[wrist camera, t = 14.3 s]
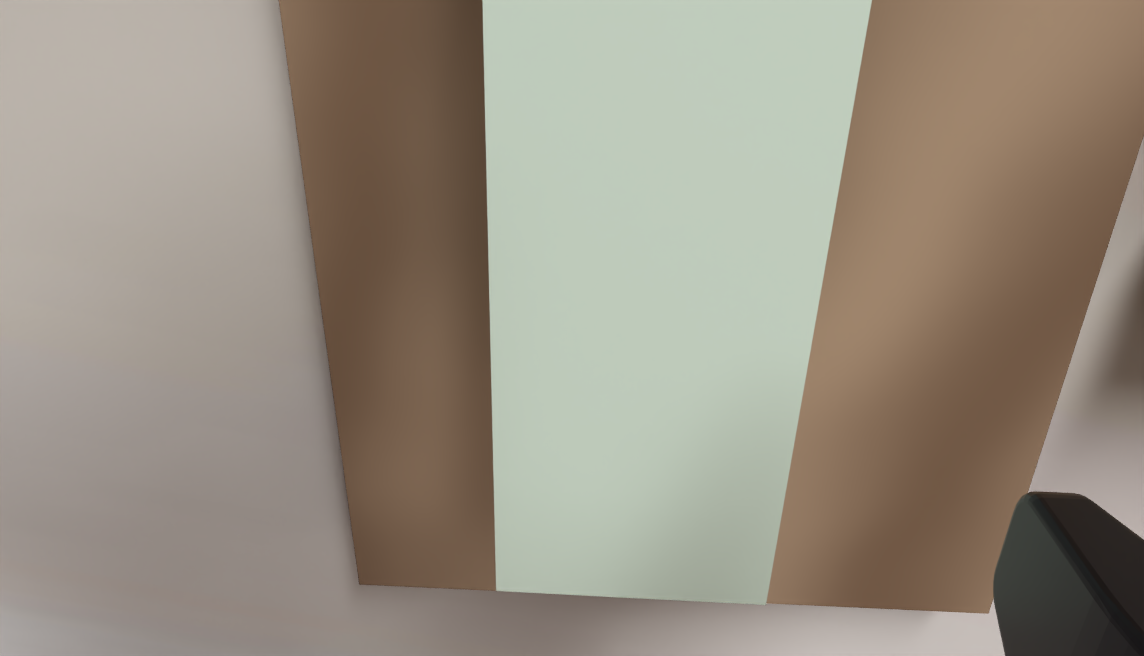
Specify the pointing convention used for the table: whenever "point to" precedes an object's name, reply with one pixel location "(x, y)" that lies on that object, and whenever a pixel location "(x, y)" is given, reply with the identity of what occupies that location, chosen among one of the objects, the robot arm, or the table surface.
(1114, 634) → the robot arm
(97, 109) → the table surface
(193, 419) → the table surface
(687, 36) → the sanding block
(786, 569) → the walnut board
